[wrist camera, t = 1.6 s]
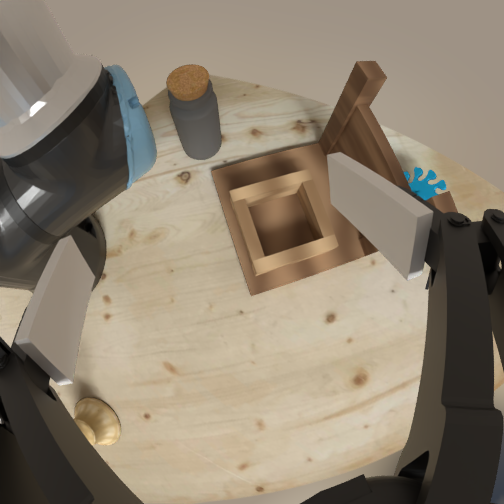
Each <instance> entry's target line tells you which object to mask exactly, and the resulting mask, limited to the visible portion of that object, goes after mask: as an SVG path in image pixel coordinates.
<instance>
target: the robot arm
mask: <svg viewBox="0 0 504 504" xmlns="http://www.w3.org/2000/svg"><path fill="white" fill-rule="evenodd" d="M156 157H157V150H156V144H155V140H154V136H153V133H152V130H151V127H150V125H149V122H148V119H147V116H146V114H145V112H144V109H143V107H142V105H141V104H140V103H139V99H138V97H137V95H136V91H135V89H134V87H133V85H132V83H131V81H130V79H129V77H128V76H127V74H126V72H125V71H124V70H123V69H122V68H121V67H120V66H119V65H112V66H107V67H105V68H104V67H103V65H102V63H101V62H100V60H99V59H98V58H97V57H96V56H93V55H85V54H75V53H74V52H73V50H72V48H71V46H70V45H69V43H68V41H67V40H66V38H65V36H64V34H63V32H62V31H61V29H60V27H59V25H58V23H57V22H56V19H55V18H54V16H53V14H52V12H51V10H50V8H49V6H48V5H47V3H46V1H45V0H0V287H5V288H14V289H24V290H29V291H30V292H32V293H33V295H32V297H31V299H30V302H29V304H28V306H27V307H26V309H25V311H24V314H23V316H22V320H21V321H20V324H19V327H18V329H17V332H16V335H15V338H14V340H13V343H12V346H11V348H10V347H9V346H8V345H7V343H6V342H5V341H4V340H3V339H2V338H1V337H0V418H1V422H2V423H1V424H0V504H144V503H143V502H142V501H141V500H140V499H139V498H138V497H137V496H136V495H135V494H134V493H133V492H132V491H131V490H130V489H129V488H128V487H127V486H126V485H125V484H124V483H123V482H122V481H121V480H120V479H119V477H118V476H117V475H116V474H115V473H114V472H113V471H112V469H111V468H110V467H109V466H108V465H107V464H106V462H105V461H104V460H103V459H102V458H101V456H100V455H99V454H98V453H97V451H96V450H95V449H94V447H93V446H92V445H91V444H90V442H89V441H88V440H87V438H86V437H85V435H84V434H83V433H82V431H81V430H80V429H79V427H78V426H77V424H76V423H75V421H74V420H73V418H72V417H71V415H70V414H69V412H68V411H67V409H66V408H65V406H64V405H63V403H62V401H61V400H60V398H59V397H58V395H57V393H56V392H55V390H54V389H53V388H52V387H51V386H50V385H49V380H50V377H51V378H52V379H53V380H54V381H55V382H56V383H57V384H58V385H65V384H71V383H73V381H74V374H75V367H76V361H77V355H78V350H79V344H80V339H81V334H82V329H83V324H84V320H85V315H86V311H87V307H88V303H89V298H90V294H91V292H92V291H93V290H94V288H95V287H96V285H97V284H98V282H99V280H100V278H101V275H102V272H103V269H104V265H105V259H106V243H105V238H104V234H103V231H102V228H101V226H100V224H99V223H98V221H97V220H96V219H95V217H94V216H93V215H92V213H94V212H95V211H96V210H98V209H99V208H100V207H102V206H103V205H104V204H106V203H107V202H109V201H110V200H111V199H113V198H114V197H116V196H117V195H118V194H120V193H121V192H123V191H124V190H127V189H128V188H130V187H131V185H132V183H134V182H135V181H136V180H138V179H139V178H140V177H141V176H143V175H144V174H145V173H147V172H148V171H149V170H150V169H151V168H152V167H153V165H154V163H155V161H156ZM327 162H328V173H329V184H330V198H331V204H332V205H333V206H334V207H335V208H336V209H337V210H338V211H339V212H340V213H341V214H342V215H343V216H344V217H346V218H347V219H348V220H349V221H350V222H351V223H352V224H353V225H354V226H355V227H356V228H357V229H358V230H359V231H360V232H361V233H362V234H363V235H364V236H365V237H366V238H367V239H368V240H369V241H370V242H371V243H372V244H373V245H374V246H375V247H376V248H377V249H378V250H379V251H380V252H381V253H382V254H383V255H384V257H385V258H386V259H387V260H388V261H389V262H390V263H391V264H392V265H393V266H394V267H395V268H396V269H397V270H398V271H399V272H400V274H401V275H402V276H403V277H404V278H405V279H406V280H407V281H408V280H410V279H413V278H415V277H417V276H419V275H421V274H422V272H423V267H424V263H425V262H426V263H427V264H428V265H429V266H430V267H431V269H430V273H429V277H428V281H427V284H426V288H425V289H427V290H428V288H429V298H428V317H427V331H426V342H425V351H424V359H423V367H422V374H421V380H420V386H419V392H418V397H417V403H416V408H415V413H414V417H413V422H412V426H411V430H410V434H409V438H408V440H407V443H406V445H405V447H404V449H403V451H402V453H401V456H400V458H399V462H398V465H397V468H396V471H395V474H394V476H376V477H369V478H365V476H364V474H363V475H360V476H358V477H356V478H354V479H351V480H349V481H346V482H344V483H342V484H339V485H337V486H334V487H331V488H329V489H326V490H323V491H320V492H319V493H317V494H316V495H314V496H312V497H311V498H309V499H307V500H306V501H304V502H302V503H300V504H494V503H490V501H491V497H492V493H493V488H494V485H495V480H496V475H497V469H498V464H499V458H500V451H501V443H502V434H503V416H502V413H501V411H500V410H498V409H495V407H494V404H493V396H494V353H493V336H492V331H493V334H494V337H495V341H496V344H497V348H498V351H499V355H500V359H501V363H502V367H503V371H504V213H503V212H502V211H500V210H497V209H487V210H486V211H484V216H483V220H482V221H477V222H471V220H470V219H469V218H468V217H467V216H465V215H463V214H460V213H457V212H446V213H443V212H441V211H440V210H439V209H437V208H436V207H434V206H433V205H431V204H430V203H429V202H427V201H426V200H423V198H421V197H420V196H417V194H415V193H414V192H412V191H411V190H409V189H407V188H404V187H401V186H399V185H398V186H396V185H394V184H393V183H391V182H389V181H388V180H386V179H385V178H383V177H382V176H380V175H378V174H377V173H375V172H374V171H372V170H370V169H369V168H367V167H365V166H364V165H362V164H360V163H359V162H357V161H355V160H353V159H352V158H350V157H348V156H346V155H345V154H343V153H341V152H338V153H333V154H329V155H327ZM500 260H501V264H502V268H501V269H500V267H499V263H500Z"/></svg>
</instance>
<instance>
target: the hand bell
mask: <svg viewBox="0 0 504 504" xmlns="http://www.w3.org/2000/svg"><path fill="white" fill-rule="evenodd" d="M74 421H75V423H76V424H77V426H78V427H79V429H80V430H81V431H82V433H83V434H84V435H85V437H86V438H87V440H88V441H89V442H90V444H91V445H92V446H93V445H94V444H96V443H97V444H100V445H111V444H113V443H115V442H116V441H117V440H118V439H119V437H120V434H121V426H120V422H119V420H118V417H117V416H116V414H115V413H114V411H113V410H112V409H111V408H110V407H109V406H108V405H107V404H105V403H104V402H102V401H100V400H98V399H95V398H84V399H82V400H80V401H79V402H78V403H77V405H76V407H75V418H74Z"/></svg>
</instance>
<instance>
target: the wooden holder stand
mask: <svg viewBox="0 0 504 504" xmlns="http://www.w3.org/2000/svg"><path fill="white" fill-rule="evenodd" d="M386 79H387V77H386V75H385V74H384V72H383V71H382V70H381V68H380V67H379V65H378V64H377V63H376V61H360V62H358V61H357V62H356V64H355V66H354V68H353V70H352V72H351V74H350V77H349V79H348V81H347V83H346V85H345V87H344V90H343V92H342V94H341V96H340V98H339V100H338V103H337V105H336V107H335V109H334V111H333V113H332V115H331V117H330V120H329V122H328V124H327V126H326V128H325V130H324V132H323V134H322V137H321V139H320V141H319V143H316V144H312V145H307V146H303V147H298V148H294V149H290V150H286V151H282V152H278V153H274V154H270V155H266V156H262V157H258V158H255V159H251V160H247V161H244V162H240V163H237V164H233V165H230V166H226V167H223V168H219V169H216V170H213V171H211V173H212V176H213V179H214V183H215V186H216V189H217V192H218V195H219V198H220V202H221V205H222V208H223V211H224V214H225V217H226V220H227V223H228V227H229V230H230V233H231V236H232V239H233V242H234V245H235V248H236V251H237V254H238V257H239V261H240V264H241V267H242V270H243V273H244V276H245V279H246V282H247V285H248V288H249V291H250V294H251V296H253V295H256V294H259V293H262V292H265V291H268V290H271V289H274V288H277V287H280V286H283V285H286V284H289V283H292V282H295V281H298V280H300V279H303V278H306V277H309V276H312V275H315V274H318V273H320V272H323V271H326V270H329V269H331V268H334V267H337V266H340V265H343V264H345V263H348V262H351V261H353V260H356V259H359V258H361V257H364V256H367V255H369V254H372V253H375V252H377V251H379V250H378V249H377V248H376V247H375V246H374V245H373V244H372V243H371V242H370V241H369V240H368V239H367V238H366V237H365V236H364V235H363V234H362V233H361V232H360V231H359V230H358V229H357V228H356V227H355V226H354V225H353V224H352V223H351V222H350V221H349V220H348V219H347V218H346V217H344V216H343V215H342V214H341V213H340V212H339V211H338V210H337V209H336V208H335V207H334V206H333V205H332V204H331V198H330V184H329V173H328V162H327V155H329V154H333V153H338V152H341V153H343V154H345V155H346V156H348V157H350V158H352V159H353V160H355V161H357V162H359V163H360V164H362V165H364V166H365V167H367V168H369V169H370V170H372V171H374V172H375V173H377V174H378V175H380V176H382V177H383V178H385V179H386V180H388V181H389V182H391V183H393V184H394V185H396V186H398V185H399V186H401V187H404V188H407V189H409V190H411V188H410V186H409V184H408V181H407V179H406V177H405V175H404V173H403V170H402V168H401V166H400V164H399V162H398V160H397V158H396V156H395V154H394V152H393V150H392V148H391V146H390V144H389V142H388V140H387V138H386V136H385V134H384V133H383V131H382V129H381V127H380V125H379V123H378V122H377V120H376V118H375V116H374V115H373V113H372V111H371V110H370V108H369V106H370V105H371V103H372V101H373V100H374V98H375V97H376V95H377V93H378V92H379V90H380V88H381V87H382V85H383V84H384V82H385V80H386ZM411 191H412V190H411ZM426 201H427V202H429V203H430V204H431V205H433V206H434V207H436V208H437V209H439V210H440V211H441V212H443V213H446V212H457V213H458V211H457V209H456V206H455V204H454V201H453V199H452V196H451V194H450V191H448V192H445V193H442V194H439V195H436V196H433V197H431V198H429V199H427V200H426Z"/></svg>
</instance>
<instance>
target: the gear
mask: <svg viewBox="0 0 504 504" xmlns="http://www.w3.org/2000/svg"><path fill="white" fill-rule="evenodd" d="M414 172H415V177H414V180H413V182H412V183H408V184H409V186H410V188H411V190H412V192H414V193H415V194H417V196H420V197H421V198H423V200H427V199H429V198H431V197H433V196H436V195H439V194H437V193H436V192H435V189H436V188H440V189H441V190H445V189H446V184H445V182H444V180H440V181H439V182H438V183H437V184H433V185H429V184H428V181H429V180H434V179H436V177H437V176H436V174H435V173H434V172H433V171H432V170H429V172H428V174H427V176H426V178H425V179H423V180H422V181H418V178H419V177H420V176H421V175H422V174H423V170H422V169H421V168H417V167H415V169H414ZM403 173H404V175H405V177H406V179H407V181H408V180H409V178H410V175H409V173H408V172H403Z"/></svg>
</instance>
